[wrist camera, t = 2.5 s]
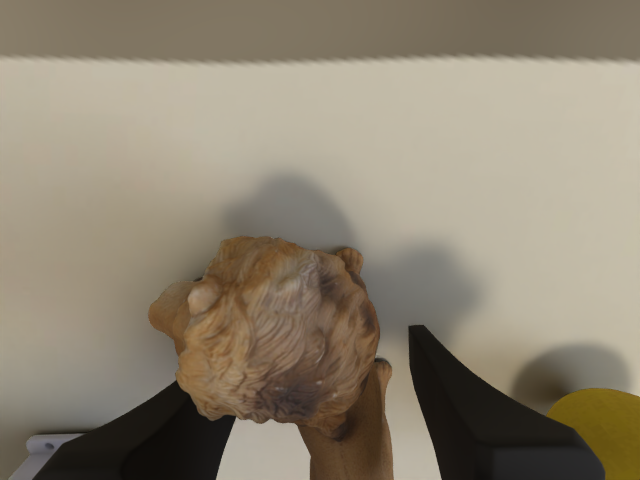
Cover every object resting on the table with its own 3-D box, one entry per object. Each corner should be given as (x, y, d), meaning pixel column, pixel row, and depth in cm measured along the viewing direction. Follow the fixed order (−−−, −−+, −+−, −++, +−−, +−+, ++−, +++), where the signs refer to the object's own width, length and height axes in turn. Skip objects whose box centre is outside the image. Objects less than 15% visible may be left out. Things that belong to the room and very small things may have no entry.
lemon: (541, 338, 16) (726, 542, 8) (653, 367, 16) (935, 592, 8) (491, 424, 18) (603, 653, 10) (591, 449, 18) (775, 692, 10)
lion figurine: (217, 212, 15) (44, 344, 6) (333, 166, 14) (319, 247, 5) (338, 450, 19) (335, 721, 10) (432, 429, 18) (513, 707, 9)
